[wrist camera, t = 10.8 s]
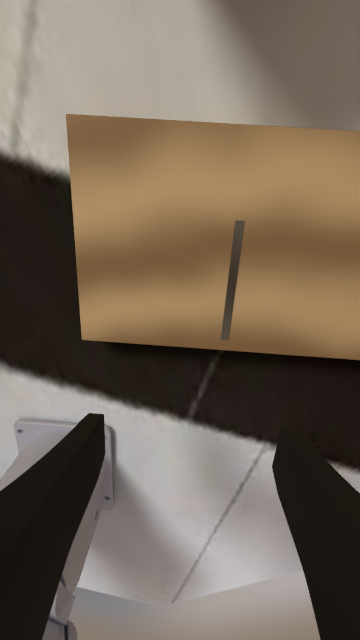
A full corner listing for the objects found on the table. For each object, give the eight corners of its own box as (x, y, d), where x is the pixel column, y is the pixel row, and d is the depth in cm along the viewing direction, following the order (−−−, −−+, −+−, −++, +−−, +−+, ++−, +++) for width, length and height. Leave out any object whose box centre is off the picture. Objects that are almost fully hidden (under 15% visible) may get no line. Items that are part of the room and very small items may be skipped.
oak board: (518, 355, 19) (563, 375, 17) (94, 325, 20) (81, 339, 17) (625, 162, 15) (705, 151, 13) (84, 129, 16) (65, 113, 13)
